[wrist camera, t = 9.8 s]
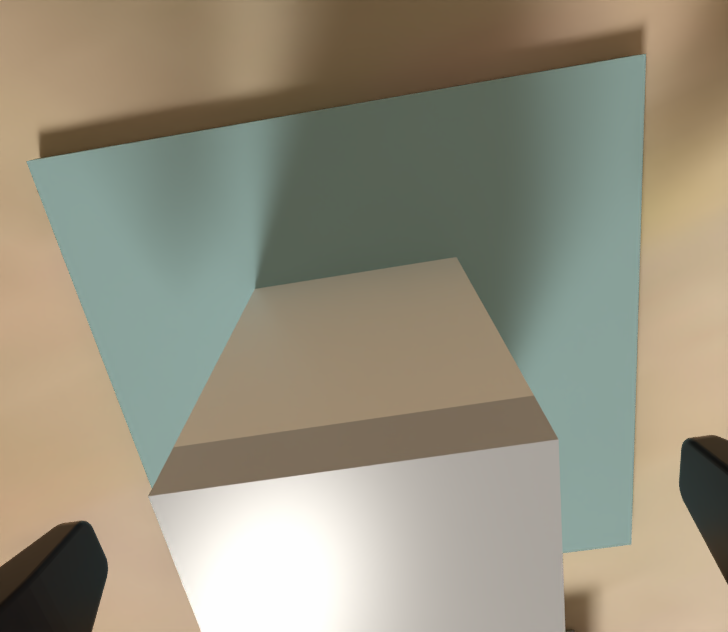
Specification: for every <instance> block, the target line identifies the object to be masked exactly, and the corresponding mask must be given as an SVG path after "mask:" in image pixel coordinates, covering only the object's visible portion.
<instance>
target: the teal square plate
mask: <svg viewBox="0 0 728 632" xmlns="http://www.w3.org/2000/svg"><path fill="white" fill-rule="evenodd" d="M645 68H646V54H641V55H633V56H627V57H622V58H616V59H610V60H604V61H599V62H593V63H587V64H581V65H576V66H570V67H564V68H558V69H552V70H547V71H541V72H535V73H529V74H524V75H518V76H512V77H506V78H501V79H495V80H489V81H483V82H477V83H472V84H466V85H460V86H454V87H449V88H443V89H437V90H431V91H426V92H420V93H414V94H408V95H402V96H397V97H391V98H385V99H379V100H374V101H368V102H362V103H356V104H351V105H345V106H339V107H333V108H327V109H322V110H316V111H310V112H304V113H299V114H293V115H287V116H281V117H276V118H270V119H264V120H258V121H252V122H247V123H241V124H235V125H229V126H224V127H218V128H212V129H206V130H201V131H195V132H189V133H183V134H177V135H172V136H166V137H160V138H154V139H149V140H143V141H137V142H131V143H126V144H120V145H114V146H108V147H102V148H97V149H91V150H85V151H79V152H74V153H68V154H62V155H56V156H51V157H45V158H39V159H34V160H30V161H27V164H28V167H29V169H30V172H31V174H32V177H33V180H34V182H35V185H36V188H37V190H38V193H39V195H40V198H41V201H42V203H43V206H44V208H45V211H46V214H47V216H48V219H49V221H50V224H51V227H52V229H53V232H54V234H55V237H56V240H57V242H58V245H59V248H60V250H61V253H62V255H63V258H64V261H65V263H66V266H67V268H68V271H69V274H70V276H71V279H72V281H73V284H74V287H75V289H76V292H77V294H78V297H79V300H80V302H81V305H82V307H83V310H84V313H85V315H86V318H87V321H88V323H89V326H90V328H91V331H92V334H93V336H94V339H95V341H96V344H97V347H98V349H99V352H100V354H101V357H102V360H103V362H104V365H105V367H106V370H107V373H108V375H109V378H110V381H111V383H112V386H113V388H114V391H115V394H116V396H117V399H118V401H119V404H120V407H121V409H122V412H123V414H124V417H125V420H126V422H127V425H128V427H129V430H130V433H131V435H132V438H133V440H134V443H135V446H136V448H137V451H138V454H139V456H140V459H141V461H142V464H143V467H144V469H145V472H146V474H147V477H148V480H149V482H150V485H151V487H152V488H153V486H154V484H155V482H156V480H157V478H158V476H159V474H160V472H161V470H162V468H163V466H164V465H165V463H166V461H167V459H168V457H169V455H170V453H171V451H172V449H173V447H174V445H175V443H176V441H177V439H178V437H179V435H180V433H181V431H182V430H183V428H184V426H185V424H186V422H187V420H188V418H189V416H190V414H191V412H192V410H193V408H194V406H195V404H196V402H197V400H198V398H199V396H200V395H201V393H202V391H203V389H204V387H205V385H206V383H207V381H208V379H209V377H210V375H211V373H212V371H213V369H214V367H215V365H216V363H217V361H218V359H219V358H220V356H221V354H222V352H223V350H224V348H225V346H226V344H227V342H228V340H229V338H230V336H231V334H232V332H233V330H234V328H235V326H236V324H237V323H238V321H239V319H240V317H241V315H242V313H243V311H244V309H245V307H246V305H247V303H248V301H249V299H250V297H251V295H252V293H253V291H254V289H258V288H264V287H270V286H277V285H283V284H289V283H296V282H302V281H308V280H315V279H321V278H327V277H333V276H340V275H346V274H352V273H359V272H365V271H371V270H378V269H384V268H390V267H397V266H403V265H409V264H415V263H422V262H428V261H434V260H441V259H447V258H453V257H457V259H458V261H459V263H460V264H461V266H462V268H463V270H464V271H465V273H466V275H467V277H468V279H469V280H470V282H471V284H472V286H473V288H474V289H475V291H476V293H477V295H478V296H479V298H480V300H481V302H482V304H483V305H484V307H485V309H486V311H487V313H488V314H489V316H490V318H491V320H492V321H493V323H494V325H495V327H496V329H497V330H498V332H499V334H500V336H501V337H502V339H503V341H504V343H505V345H506V346H507V348H508V350H509V352H510V354H511V355H512V357H513V359H514V361H515V362H516V364H517V366H518V368H519V370H520V371H521V373H522V375H523V377H524V379H525V380H526V382H527V384H528V386H529V387H530V389H531V391H532V393H533V395H534V396H535V398H536V400H537V402H538V404H539V405H540V407H541V409H542V411H543V412H544V414H545V416H546V418H547V420H548V421H549V423H550V425H551V427H552V428H553V430H554V432H555V434H556V436H557V437H558V439H559V465H560V494H561V522H562V551H563V553H568V552H576V551H584V550H592V549H599V548H607V547H615V546H623V545H631V534H632V501H633V468H634V434H635V401H636V368H637V334H638V301H639V268H640V234H641V201H642V168H643V135H644V101H645Z"/></svg>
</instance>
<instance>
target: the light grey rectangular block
mask: <svg viewBox="0 0 728 632" xmlns="http://www.w3.org/2000/svg"><path fill="white" fill-rule="evenodd" d="M148 497H149V500H150V502H151V505H152V507H153V510H154V512H155V515H156V518H157V520H158V523H159V525H160V528H161V530H162V533H163V535H164V538H165V541H166V543H167V546H168V548H169V551H170V553H171V556H172V558H173V561H174V563H175V566H176V569H177V571H178V574H179V576H180V579H181V581H182V584H183V586H184V589H185V592H186V594H187V597H188V599H189V602H190V604H191V607H192V609H193V612H194V614H195V617H196V620H197V622H198V625H199V627H200V630H201V632H565V608H564V579H563V551H562V522H561V494H560V465H559V439H558V437H557V436H556V434H555V432H554V430H553V428H552V427H551V425H550V423H549V421H548V420H547V418H546V416H545V414H544V412H543V411H542V409H541V407H540V405H539V404H538V402H537V400H536V398H535V396H534V395H533V393H532V391H531V389H530V387H529V386H528V384H527V382H526V380H525V379H524V377H523V375H522V373H521V371H520V370H519V368H518V366H517V364H516V362H515V361H514V359H513V357H512V355H511V354H510V352H509V350H508V348H507V346H506V345H505V343H504V341H503V339H502V337H501V336H500V334H499V332H498V330H497V329H496V327H495V325H494V323H493V321H492V320H491V318H490V316H489V314H488V313H487V311H486V309H485V307H484V305H483V304H482V302H481V300H480V298H479V296H478V295H477V293H476V291H475V289H474V288H473V286H472V284H471V282H470V280H469V279H468V277H467V275H466V273H465V271H464V270H463V268H462V266H461V264H460V263H459V261H458V259H457V257H453V258H447V259H441V260H434V261H428V262H422V263H415V264H409V265H403V266H397V267H390V268H384V269H378V270H371V271H365V272H359V273H352V274H346V275H340V276H333V277H327V278H321V279H315V280H308V281H302V282H296V283H289V284H283V285H277V286H270V287H264V288H258V289H254V291H253V293H252V295H251V297H250V299H249V301H248V303H247V305H246V307H245V309H244V311H243V313H242V315H241V317H240V319H239V321H238V323H237V324H236V326H235V328H234V330H233V332H232V334H231V336H230V338H229V340H228V342H227V344H226V346H225V348H224V350H223V352H222V354H221V356H220V358H219V359H218V361H217V363H216V365H215V367H214V369H213V371H212V373H211V375H210V377H209V379H208V381H207V383H206V385H205V387H204V389H203V391H202V393H201V395H200V396H199V398H198V400H197V402H196V404H195V406H194V408H193V410H192V412H191V414H190V416H189V418H188V420H187V422H186V424H185V426H184V428H183V430H182V431H181V433H180V435H179V437H178V439H177V441H176V443H175V445H174V447H173V449H172V451H171V453H170V455H169V457H168V459H167V461H166V463H165V465H164V466H163V468H162V470H161V472H160V474H159V476H158V478H157V480H156V482H155V484H154V486H153V488H152V490H151V492H150V494H149V496H148Z"/></svg>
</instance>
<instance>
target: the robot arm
mask: <svg viewBox="0 0 728 632" xmlns="http://www.w3.org/2000/svg"><path fill="white" fill-rule="evenodd" d="M679 487H680V492H681V496H682V499H683V501H684V503H685V505H686V507H687V508H688V510H689V512H690V514H691V516H692V518H693V520H694V522H695V524H696V525H697V527H698V529H699V531H700V533H701V535H702V537H703V539H704V541H705V542H706V544H707V546H708V548H709V550H710V552H711V554H712V556H713V558H714V559H715V561H716V563H717V565H718V567H719V569H720V571H721V573H722V575H723V576H724V578H725V580H726V582H727V584H728V440H726V439H723V438H721V437H718V436H715V435H707V436H700V437H693V438H688V439H686V440H685V441H684V442H683V444H682V448H681V462H680V477H679ZM107 573H108V564H107V559H106V556H105V554H104V552H103V550H102V547H101V545H100V543H99V541H98V538H97V536H96V534H95V532H94V530H93V528H92V526H91V524H89V523H88V522H87V521H76V522H68V523H62V524H59V525H57V526H56V527H54V528H53V529H51V530H50V531H49V532H47V533H46V534H45V535H43V536H42V537H41V538H39V539H38V540H36V541H35V542H34V543H32V544H31V545H30V546H28V547H27V548H26V549H24V550H23V551H21V552H20V553H19V554H17V555H16V556H15V557H13V558H12V559H11V560H9V561H8V562H6V563H5V564H4V565H2V566H1V567H0V632H92V629H93V626H94V622H95V618H96V615H97V611H98V607H99V604H100V600H101V596H102V593H103V589H104V586H105V582H106V578H107Z"/></svg>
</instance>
